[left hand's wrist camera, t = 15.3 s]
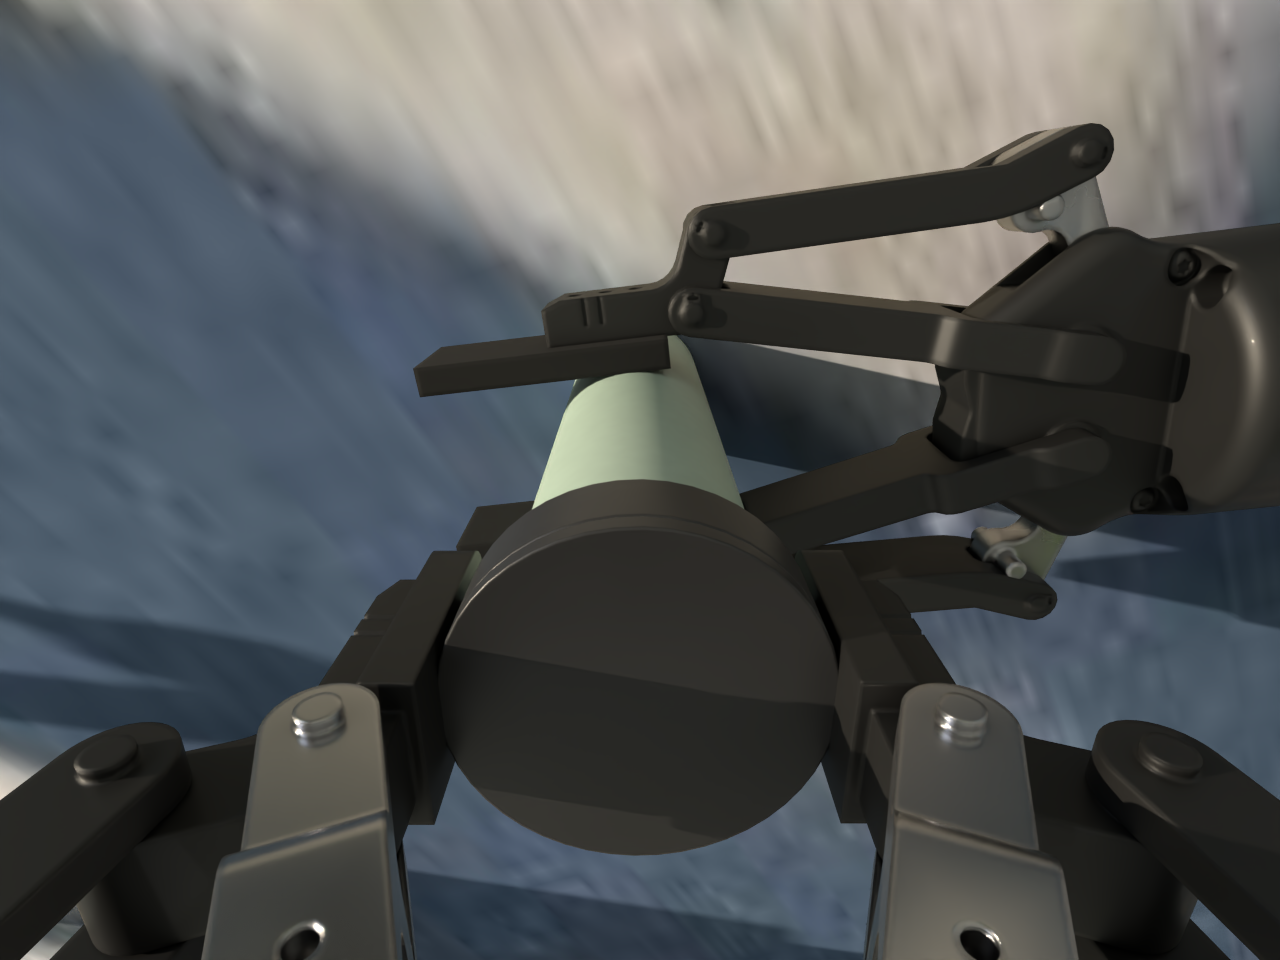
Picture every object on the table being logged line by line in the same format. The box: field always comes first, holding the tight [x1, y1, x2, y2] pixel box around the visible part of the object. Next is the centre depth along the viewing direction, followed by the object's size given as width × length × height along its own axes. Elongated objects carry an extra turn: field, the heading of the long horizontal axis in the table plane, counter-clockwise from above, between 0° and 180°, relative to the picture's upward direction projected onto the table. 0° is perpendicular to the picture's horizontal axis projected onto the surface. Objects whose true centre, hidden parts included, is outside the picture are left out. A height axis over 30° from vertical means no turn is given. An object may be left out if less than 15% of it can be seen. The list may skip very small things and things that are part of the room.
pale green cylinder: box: [532, 335, 744, 509], centre depth 18 cm, size 4×4×17 cm
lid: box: [438, 479, 839, 855], centre depth 10 cm, size 5×5×2 cm
